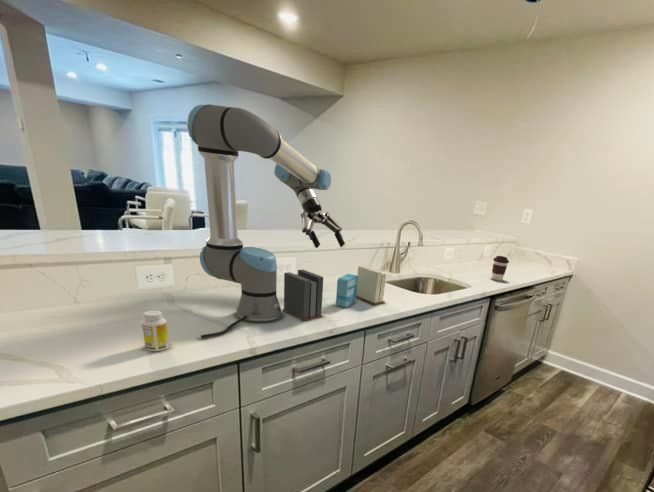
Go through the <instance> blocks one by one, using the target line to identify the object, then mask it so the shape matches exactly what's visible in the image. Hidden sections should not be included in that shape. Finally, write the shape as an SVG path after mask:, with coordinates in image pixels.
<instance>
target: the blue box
mask: <svg viewBox="0 0 654 492" xmlns="http://www.w3.org/2000/svg"><path fill="white" fill-rule="evenodd" d="M357 275H358V274H351V273H346V274H344V275H342V276H340V277H338V279H337V281H336V297H335V305H336V306H337V307H341V308H346V309H347V308H348V307H350V306H351V305H353V304H355V302H356V301H357V298H356V295H357V284H358V276H357Z"/></svg>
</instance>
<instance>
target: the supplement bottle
mask: <svg viewBox="0 0 654 492" xmlns="http://www.w3.org/2000/svg"><path fill="white" fill-rule="evenodd" d="M143 318H144V319H142V320H141V327H142V334H143V341H144V347H145V349H146V350H147V351H151V352H160V351H164V350H167V349H168V348H169V347H170V343H169V335H168V327H167V320H166V319H165V318H164V317H163V314H162V312H161V311H159V310H148V311H145V312H144V313H143Z"/></svg>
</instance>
